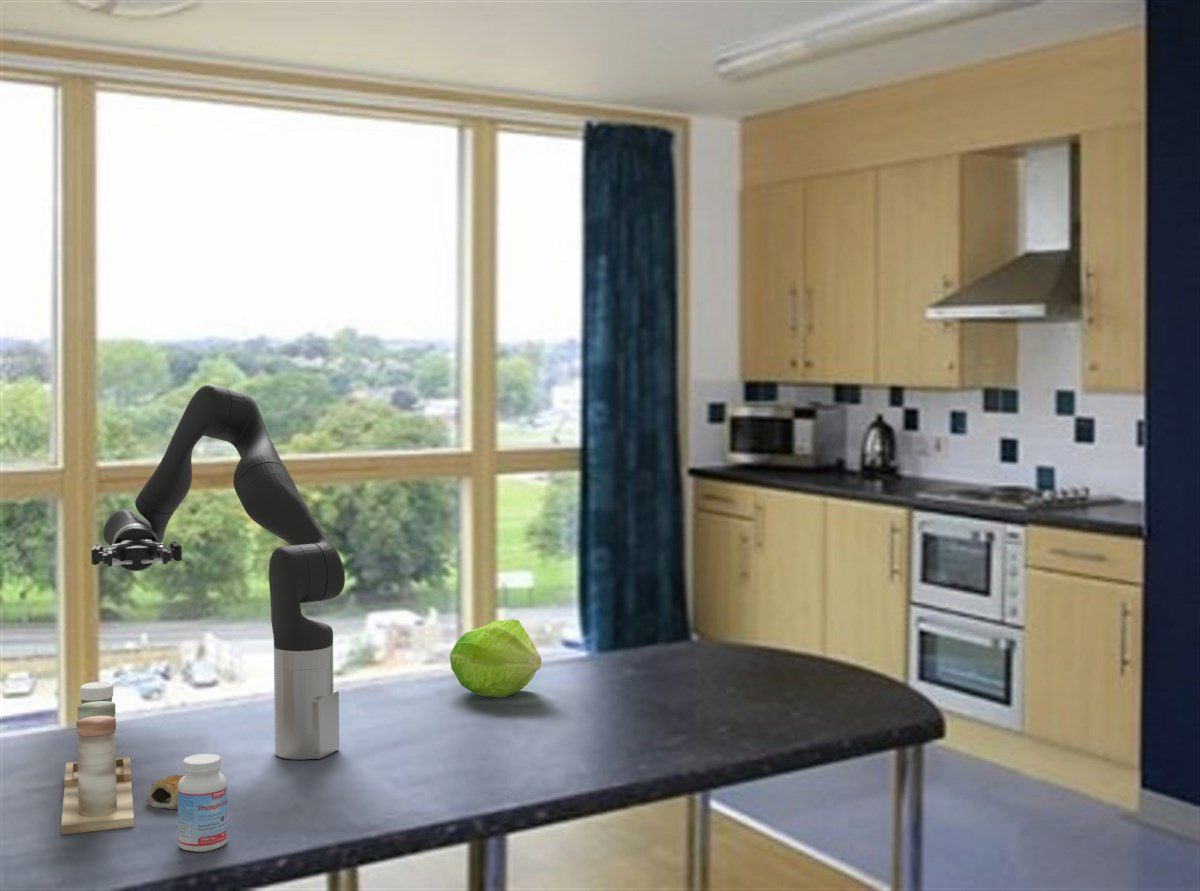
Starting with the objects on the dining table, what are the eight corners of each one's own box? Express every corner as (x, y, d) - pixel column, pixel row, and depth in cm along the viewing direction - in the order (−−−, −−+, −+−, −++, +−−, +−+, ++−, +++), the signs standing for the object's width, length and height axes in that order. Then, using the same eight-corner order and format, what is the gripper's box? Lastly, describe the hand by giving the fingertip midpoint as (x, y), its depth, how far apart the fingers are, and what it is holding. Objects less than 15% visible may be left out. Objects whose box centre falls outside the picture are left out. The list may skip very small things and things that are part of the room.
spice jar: (117, 776, 195) (116, 685, 194) (85, 781, 192) (83, 689, 191) (109, 767, 199) (108, 679, 198) (77, 772, 196) (76, 683, 195)
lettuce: (516, 713, 236) (494, 641, 235) (446, 709, 251) (425, 642, 249) (571, 679, 247) (551, 610, 245) (501, 677, 261) (481, 613, 259)
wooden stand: (66, 777, 198) (64, 687, 197) (130, 770, 201) (128, 682, 200) (61, 834, 174) (59, 732, 173) (133, 826, 177) (132, 726, 176)
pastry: (188, 787, 194) (188, 762, 194) (224, 794, 191) (224, 768, 191) (141, 807, 185) (141, 780, 185) (178, 814, 183) (178, 787, 182)
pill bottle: (205, 856, 166) (204, 768, 166) (168, 848, 169) (166, 762, 168) (237, 840, 172) (236, 755, 171) (201, 833, 174) (199, 749, 174)
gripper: (91, 526, 228) (90, 537, 213) (178, 523, 233) (183, 534, 218) (92, 569, 229) (91, 584, 214) (178, 565, 234) (184, 579, 219)
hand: (137, 558), depth 216 cm, fingers open, 8 cm apart
